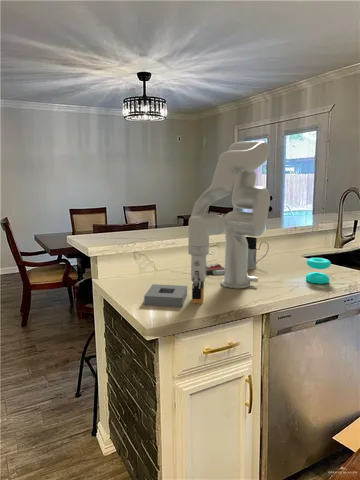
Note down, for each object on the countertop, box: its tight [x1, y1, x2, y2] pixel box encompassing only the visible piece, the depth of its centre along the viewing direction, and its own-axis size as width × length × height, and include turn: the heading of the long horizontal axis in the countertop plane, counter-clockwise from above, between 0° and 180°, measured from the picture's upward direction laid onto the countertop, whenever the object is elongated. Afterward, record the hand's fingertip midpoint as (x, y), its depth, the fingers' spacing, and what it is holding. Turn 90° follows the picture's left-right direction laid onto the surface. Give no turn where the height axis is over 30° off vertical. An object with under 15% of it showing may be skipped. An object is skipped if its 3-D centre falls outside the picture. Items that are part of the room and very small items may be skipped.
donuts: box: [305, 257, 332, 285], centre depth 162 cm, size 10×10×10 cm
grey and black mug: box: [245, 236, 270, 270], centre depth 185 cm, size 9×14×15 cm, turn 70°
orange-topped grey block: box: [191, 282, 205, 304], centre depth 138 cm, size 4×4×7 cm
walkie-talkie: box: [206, 262, 225, 276], centre depth 177 cm, size 9×4×20 cm
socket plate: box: [143, 283, 188, 308], centre depth 140 cm, size 14×14×4 cm
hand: (197, 294), depth 138 cm, fingers open, 9 cm apart
